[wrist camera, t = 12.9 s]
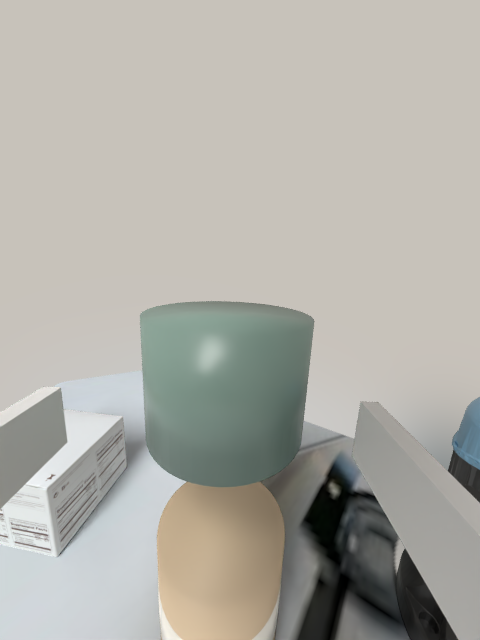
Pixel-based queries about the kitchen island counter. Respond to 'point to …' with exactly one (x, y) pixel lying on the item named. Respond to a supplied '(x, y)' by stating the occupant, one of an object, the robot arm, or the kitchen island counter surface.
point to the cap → (224, 389)
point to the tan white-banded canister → (220, 563)
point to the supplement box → (66, 485)
